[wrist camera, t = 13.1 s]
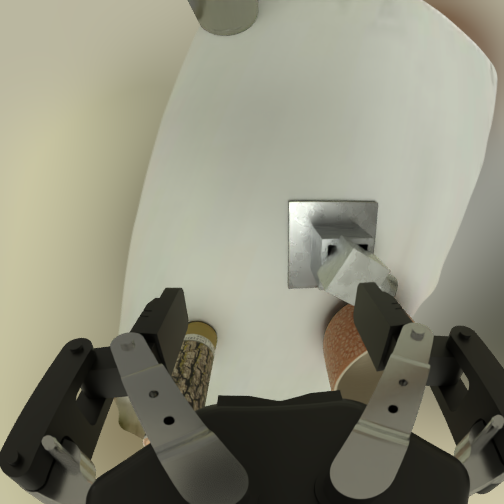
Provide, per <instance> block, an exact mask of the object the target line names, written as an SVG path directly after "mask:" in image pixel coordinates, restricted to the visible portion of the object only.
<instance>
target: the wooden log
mask: <svg viewBox="0 0 504 504" xmlns="http://www.w3.org/2000/svg"><path fill="white" fill-rule="evenodd" d="M216 343H217V335H216V333H215V331H214V330H213V329H212V328H211V327H210V326H209V325H207V324H205V323H202V322H192V323H189V324H188V329H187V332H186V335H185V338H184V341H183V344H182V346H181V349H180V352H179V355H178V358H177V361H176V364H175V367H174V370H173V373H172V376H171V378H172V379H173V381H174V382H175V384H176V385H177V387H178V388H179V390H180V391H181V393H182V394H183V396H184V397H185V398H186V400H187V401H188V403H189V404H190V406H191V407H192V408H193V410H194V411H196V410H198V409H200V408H203V407H205V402H206V397H207V391H208V386H209V381H210V375H211V370H212V365H213V359H214V354H215V348H216ZM149 443H150V441H149V439H148V437H147V435H146V433H145V436H144V440H143V444H144V446H146V445H148V444H149Z"/></svg>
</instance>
